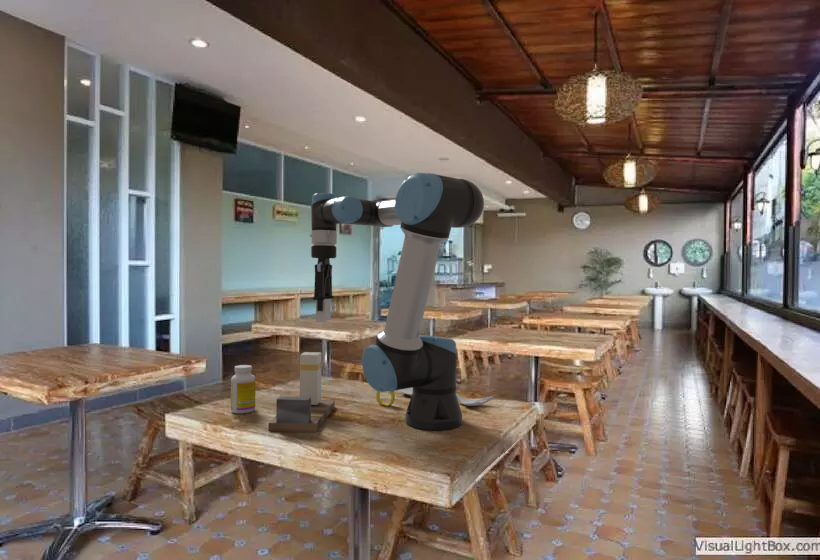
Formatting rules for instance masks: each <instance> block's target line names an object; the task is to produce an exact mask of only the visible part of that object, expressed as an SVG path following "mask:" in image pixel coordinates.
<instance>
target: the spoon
mask: <svg viewBox="0 0 820 560" xmlns="http://www.w3.org/2000/svg"><path fill="white" fill-rule="evenodd" d="M399 391H400V392H401V393H403V394H405V395H406V396H410V397H411V396H412V393H413V387H412V388H406V389H401V390H399ZM456 396H457V399H458V402H459V403H461V404H463V405H465V406H468V407H477V406H480V405H484V404H486V403H488V402H490V401H491V400H494V398H495V397H494V396H491V395H490V396H486V397H483V398H465V397H463V396H461V395H459V394H458V393H456Z"/></svg>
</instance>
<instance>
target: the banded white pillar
mask: <svg viewBox="0 0 820 560" xmlns="http://www.w3.org/2000/svg"><path fill="white" fill-rule="evenodd" d="M322 358H323V357H322V352H317V351H316V352H315V351H314V352H313V351H311V352H310V351H303V352H302V353H301V354H299V366H298V367H299V397H311V405H318V403H319V402H320V401H321V400H322V367H323V361H322Z"/></svg>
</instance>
